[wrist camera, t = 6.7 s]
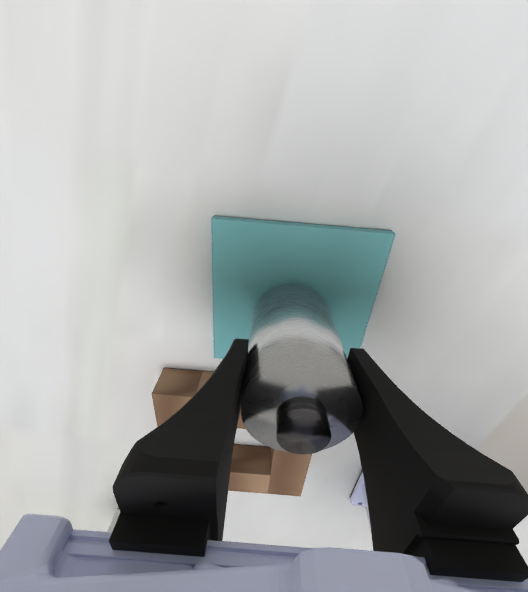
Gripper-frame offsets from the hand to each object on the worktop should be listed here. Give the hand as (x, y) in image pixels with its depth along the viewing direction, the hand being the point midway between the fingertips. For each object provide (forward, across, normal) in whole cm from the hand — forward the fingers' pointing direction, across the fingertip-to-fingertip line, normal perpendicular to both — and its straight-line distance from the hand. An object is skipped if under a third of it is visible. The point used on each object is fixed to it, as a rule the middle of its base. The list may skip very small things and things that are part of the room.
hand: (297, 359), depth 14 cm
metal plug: (+4, 0, 0) cm, 4 cm away
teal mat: (+6, 0, 0) cm, 6 cm away
